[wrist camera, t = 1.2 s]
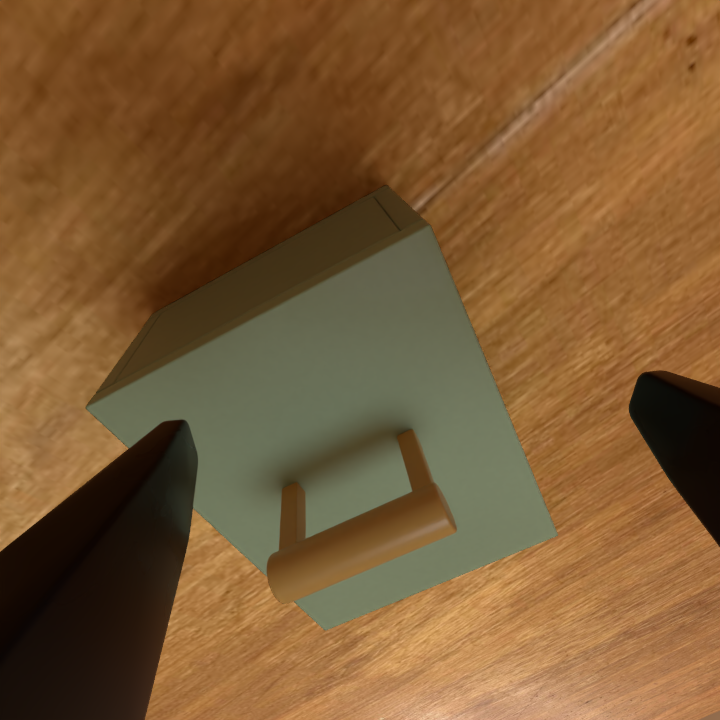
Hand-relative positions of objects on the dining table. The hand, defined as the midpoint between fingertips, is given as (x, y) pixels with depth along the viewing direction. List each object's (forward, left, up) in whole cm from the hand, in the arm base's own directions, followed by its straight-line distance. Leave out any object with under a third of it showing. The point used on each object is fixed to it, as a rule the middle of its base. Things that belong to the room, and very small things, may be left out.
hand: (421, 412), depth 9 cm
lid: (-4, -7, -7) cm, 10 cm away
